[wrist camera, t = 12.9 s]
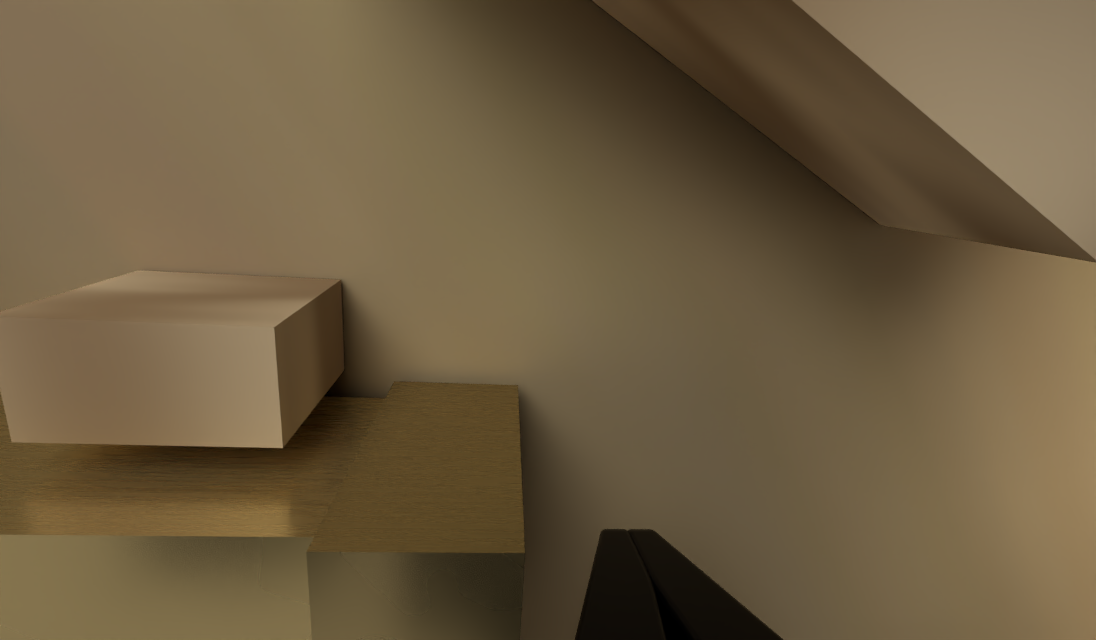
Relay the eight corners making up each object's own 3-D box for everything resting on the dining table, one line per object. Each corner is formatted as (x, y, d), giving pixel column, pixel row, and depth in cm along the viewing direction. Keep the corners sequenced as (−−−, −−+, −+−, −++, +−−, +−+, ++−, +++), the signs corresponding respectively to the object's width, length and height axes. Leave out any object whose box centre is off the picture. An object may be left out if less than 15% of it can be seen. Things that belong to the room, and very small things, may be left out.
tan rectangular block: (518, 385, 9) (524, 553, 5) (507, 591, 10) (506, 857, 6) (-376, 357, 8) (-1204, 542, 4) (-281, 590, 9) (-863, 910, 5)
